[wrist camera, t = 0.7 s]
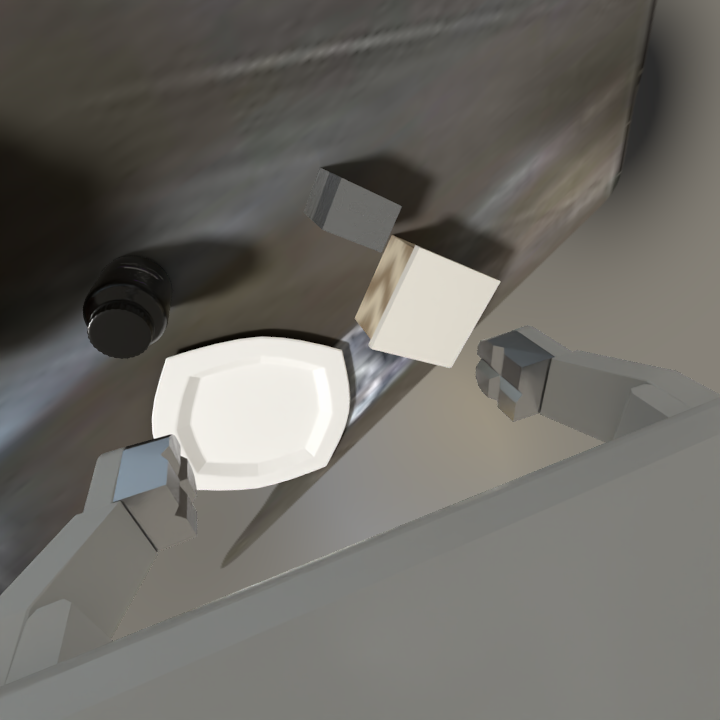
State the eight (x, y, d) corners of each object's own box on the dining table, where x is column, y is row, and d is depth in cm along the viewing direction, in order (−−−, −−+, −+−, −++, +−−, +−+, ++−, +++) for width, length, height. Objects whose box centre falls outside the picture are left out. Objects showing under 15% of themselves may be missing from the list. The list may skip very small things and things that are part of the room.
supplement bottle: (158, 247, 42) (149, 288, 32) (181, 305, 45) (178, 358, 36) (87, 261, 40) (55, 308, 31) (116, 320, 44) (96, 378, 34)
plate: (140, 332, 46) (138, 340, 44) (357, 327, 56) (362, 333, 54) (163, 494, 59) (162, 504, 57) (335, 466, 69) (339, 475, 67)
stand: (390, 229, 49) (419, 247, 43) (465, 261, 56) (500, 281, 49) (350, 320, 54) (371, 348, 48) (423, 340, 61) (450, 368, 54)
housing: (319, 167, 43) (341, 177, 37) (373, 192, 46) (402, 206, 40) (303, 212, 45) (322, 229, 39) (356, 233, 48) (381, 252, 42)
